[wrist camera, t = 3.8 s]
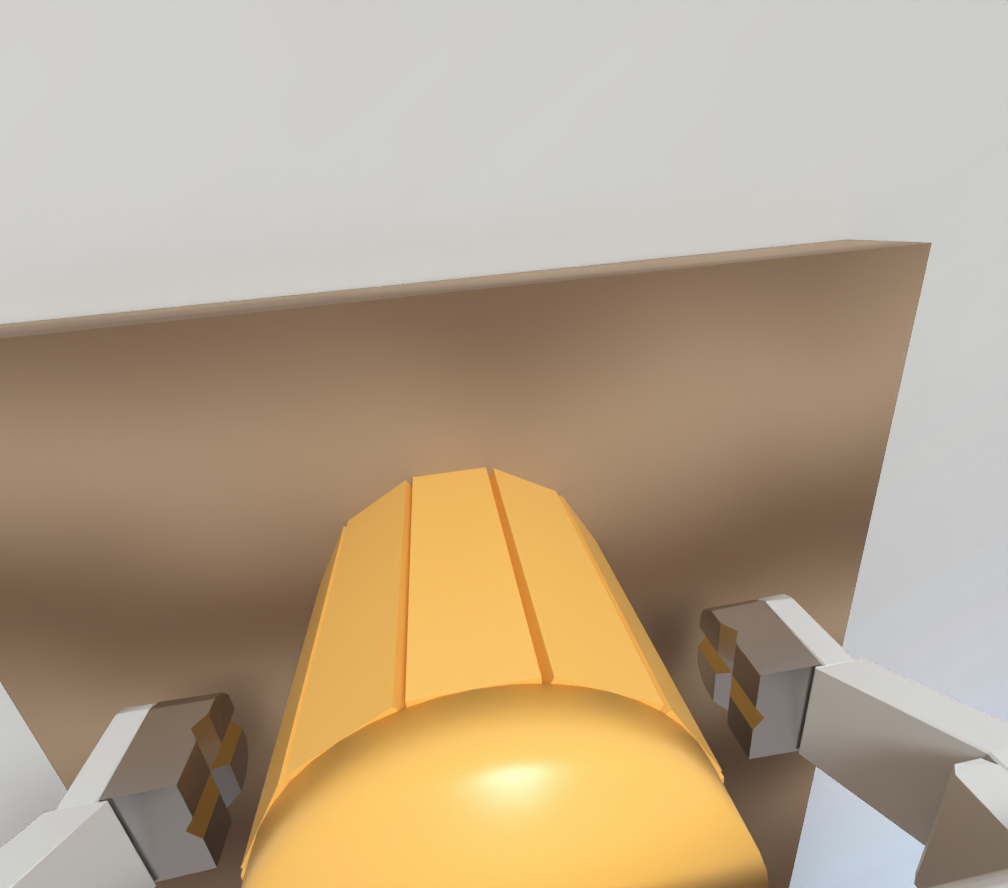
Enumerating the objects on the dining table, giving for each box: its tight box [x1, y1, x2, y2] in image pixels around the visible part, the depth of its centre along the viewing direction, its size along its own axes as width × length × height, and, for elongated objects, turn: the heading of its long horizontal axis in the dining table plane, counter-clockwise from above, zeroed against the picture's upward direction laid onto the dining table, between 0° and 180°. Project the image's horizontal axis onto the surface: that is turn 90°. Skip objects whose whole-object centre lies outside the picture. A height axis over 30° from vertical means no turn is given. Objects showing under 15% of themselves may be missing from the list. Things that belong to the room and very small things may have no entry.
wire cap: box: [241, 467, 769, 888], centre depth 8 cm, size 6×6×6 cm
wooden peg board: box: [0, 240, 931, 888], centre depth 12 cm, size 24×18×6 cm
